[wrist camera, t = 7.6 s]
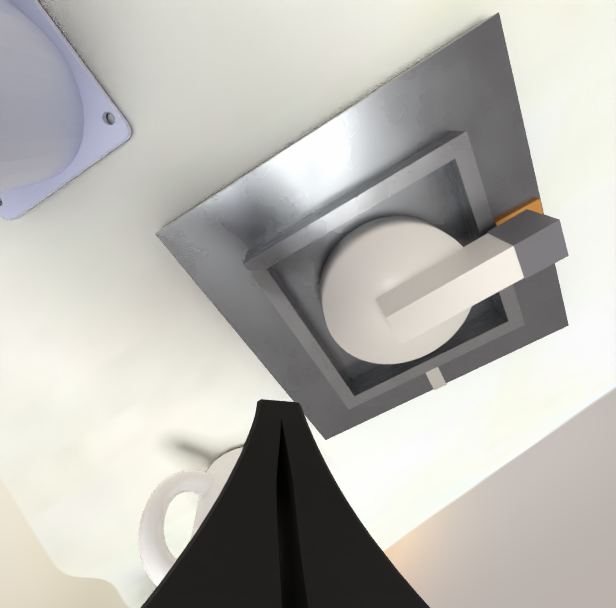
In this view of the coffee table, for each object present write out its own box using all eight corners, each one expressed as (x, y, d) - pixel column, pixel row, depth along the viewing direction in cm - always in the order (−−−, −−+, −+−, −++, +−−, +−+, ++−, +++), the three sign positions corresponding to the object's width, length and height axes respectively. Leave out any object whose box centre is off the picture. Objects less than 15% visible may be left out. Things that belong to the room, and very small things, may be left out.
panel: (162, 227, 18) (145, 242, 16) (483, 20, 15) (521, 0, 13) (323, 427, 26) (328, 457, 24) (555, 316, 23) (587, 338, 21)
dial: (360, 364, 22) (376, 409, 18) (291, 268, 18) (295, 301, 15) (527, 274, 20) (581, 305, 16) (485, 147, 16) (542, 152, 13)
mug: (141, 469, 27) (71, 649, 17) (199, 403, 24) (153, 573, 15) (265, 518, 31) (262, 683, 22) (326, 467, 28) (350, 629, 19)
